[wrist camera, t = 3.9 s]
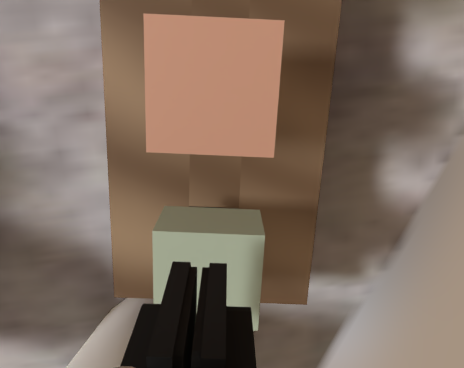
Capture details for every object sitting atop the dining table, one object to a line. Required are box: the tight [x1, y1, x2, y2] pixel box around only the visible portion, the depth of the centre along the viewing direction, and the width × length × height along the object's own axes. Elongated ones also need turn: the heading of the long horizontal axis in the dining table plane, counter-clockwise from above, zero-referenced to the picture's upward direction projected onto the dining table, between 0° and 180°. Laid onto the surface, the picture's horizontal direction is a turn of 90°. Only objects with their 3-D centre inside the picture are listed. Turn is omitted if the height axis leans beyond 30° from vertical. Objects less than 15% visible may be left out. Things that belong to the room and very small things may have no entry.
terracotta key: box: [143, 13, 285, 158], centre depth 15 cm, size 4×4×7 cm
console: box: [100, 0, 342, 305], centre depth 18 cm, size 29×10×4 cm, turn 177°
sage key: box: [152, 206, 265, 331], centre depth 17 cm, size 4×4×7 cm
